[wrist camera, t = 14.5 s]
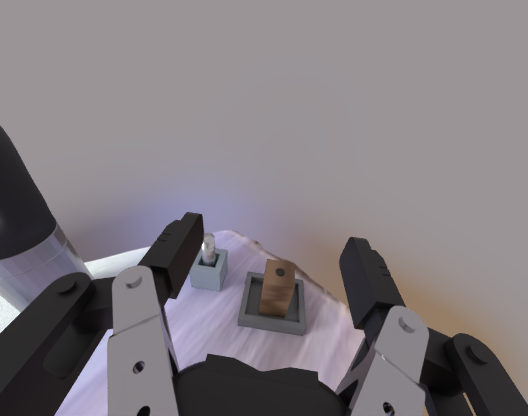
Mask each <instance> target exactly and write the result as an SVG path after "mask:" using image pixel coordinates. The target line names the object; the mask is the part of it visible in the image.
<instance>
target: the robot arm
mask: <svg viewBox="0 0 528 416" xmlns="http://www.w3.org/2000/svg"><path fill="white" fill-rule="evenodd" d="M203 241H204V228H203V217H202V214H198V213H190V212H187V213H186V214H185V215H184V217H183V218H182V219H181V221H180V220H175V221H173V222H172V223H171V224H169V225H168V226H167V227H166V228H165V229H164V231H163V232H162V234H161V235H160V236H159V237H158V238H157V241H155V242H154V244H153V245H152V246H151V248H150V249H149V250H148V252H147V253H146V254H145V256H144V257H143V258H142V260H141V261H140V262H139V264H138V265H137V266H133V267H130V268H128V269H126V270H124V271H122V272H121V273H120V274H119V275H118V276H117V277H110V278H103V279H95V280H94V278H93V277H92V275H91V274H90V272H89V270H88V269H87V267H86V266H85V264H84V263H83V261H82V260H81V258H80V257H79V255H78V254H77V252H76V250H75V249H74V247H73V246H72V244H71V243H70V241H69V240H68V238H67V237H66V235H65V234H64V232H63V231H62V229H61V228H60V226H59V224H58V223H57V222H56V220H55V218H54V217H53V215H52V214H51V212H50V210H49V208H48V206H47V204H46V202H45V200H44V198H43V196H42V194H41V193H40V191H39V190H38V188H37V186H36V185H35V183H34V181H33V180H32V178H31V176H30V174H29V173H28V171H27V169H26V167H25V165H24V163H23V161H22V159H21V157H20V156H19V154H18V152H17V150H16V148H15V147H14V145H13V143H12V141H11V140H10V138H9V137H8V135H7V134H6V132H5V131H4V130H3V128H2V127H1V126H0V296H2V297H3V298H4V299H5V300H6V301H8V302H9V303H10V304H11V305H12V306H14V307H15V308H16V309H17V310H18V311H19V312H21V313H20V314H19V315H18V316H17V317H16V318H15V319H14V320H13V321H12V322H11V323H10V324H9V325H8V326H7V327H6V328H5V329H4V330H3V331H2V332H1V333H0V416H54V415H55V413H56V412H57V410H58V409H59V407H60V405H61V404H62V402H63V401H64V399H65V397H66V396H67V394H68V392H69V391H70V389H71V388H72V386H73V384H74V383H75V381H76V380H77V378H78V376H79V375H80V373H81V372H82V370H83V368H84V367H85V365H86V364H87V362H88V360H89V359H90V357H91V356H92V354H93V352H94V351H95V349H96V347H97V346H98V344H99V343H100V341H101V339H102V338H103V336H104V335H105V333H106V331H107V330H108V329H113V335H112V336H110V337H109V339H108V345H107V365H108V416H422V413H423V407H424V403H425V406H426V409H427V412H428V414H429V416H473V414H472V412H471V410H470V408H469V405H468V403H467V401H466V399H465V397H464V395H463V393H466V395H467V397H468V399H469V401H470V403H471V405H472V407H473V409H474V411H475V413H476V415H477V416H528V404H527V403H526V401H525V400H524V398H523V397H522V395H521V394H520V392H519V391H518V389H517V388H516V386H515V385H514V383H513V382H512V380H511V378H510V377H509V375H508V374H507V372H506V371H505V369H504V368H503V366H502V365H501V363H500V361H499V360H498V358H497V357H496V356H495V354H494V353H493V352H492V351H491V350H490V349H489V348H488V347H487V346H486V345H485V344H483V343H482V342H481V341H479V340H478V339H476V338H474V337H472V336H470V335H468V334H463V333H459V334H457V335H455V336H453V337H452V338H451V337H448V336H446V335H444V334H441V333H439V332H437V331H435V330H433V329H430V328H428V327H427V326H426V324H425V323H424V321H423V320H422V319H421V318H420V317H419V316H418V315H417V314H416V313H415V312H413V311H412V310H410V309H408V308H406V306H405V304H404V302H403V299H402V298H401V295H400V293H399V291H398V289H397V287H396V285H395V283H394V280H393V278H392V277H391V275H390V272H389V270H388V269H387V266H386V264H385V261H384V259H383V258H382V257H381V256H380V255H379V254H378V252H377V251H376V250H371V247H370V245H369V243H368V241H367V240H366V239H363V238H356V237H350V238H349V240H348V242H347V244H346V246H345V248H344V250H343V252H342V254H341V256H340V262H339V264H340V270H341V274H342V278H343V282H344V287H345V291H346V295H347V299H348V303H349V308H350V312H351V316H352V320H353V324H354V328H355V329H360V330H364V333H365V337H364V339H363V340H362V342H361V344H360V347H359V349H358V351H357V353H356V355H355V357H354V359H353V361H352V363H351V365H350V367H349V369H348V371H347V373H346V375H345V377H344V378H343V380H342V381H341V382H340V384H339V386H338V387H337V389H336V391H335V392H334V391H333V390H331V389H330V388H329V387H328V386H326V385H325V384H323V383H322V382H320V381H318V372H316V371H310V370H303V369H297V368H291V367H289V368H283V369H277V370H271V371H265V372H262V371H258V370H256V369H255V368H253V367H251V366H249V365H247V364H245V363H243V362H241V361H239V360H237V359H235V358H231V357H225V356H219V355H213V354H207V357H206V361H203V362H199V363H196V364H193V365H191V366H188V367H186V368H185V369H183V370H181V371H179V366H178V362H177V358H176V354H175V351H174V347H173V343H172V339H171V334H170V330H169V325H168V321H167V316H166V312H165V307H164V305H165V303H166V302H167V300H168V298H171V299H176V298H177V296H178V294H179V292H180V290H181V288H182V286H183V284H184V282H185V280H186V278H187V276H188V274H189V272H190V269H191V267H192V265H193V263H194V261H195V259H196V257H197V255H198V253H199V251H200V249H201V247H202V244H203Z"/></svg>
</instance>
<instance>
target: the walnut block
mask: <svg viewBox="0 0 528 416" xmlns="http://www.w3.org/2000/svg"><path fill="white" fill-rule="evenodd" d="M294 289H295V272H294V263H290V262H284V261H277V260H271V259H267V262H266V268H265V274H264V280H263V286H262V292H261V300H260V308H259V314H264V315H270V316H276V317H282V318H285V316H286V313H287V310H288V307H289V304H290V301H291V298H292V295H293V292H294Z"/></svg>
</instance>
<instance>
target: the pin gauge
mask: <svg viewBox="0 0 528 416" xmlns="http://www.w3.org/2000/svg"><path fill="white" fill-rule="evenodd" d="M201 253H202V261H203V266H208V267H214V268H215V267H216V256H215V240H214V235H213V234H211V233H206V234H204V241H203V244H202V247H201Z"/></svg>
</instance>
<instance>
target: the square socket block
mask: <svg viewBox="0 0 528 416" xmlns="http://www.w3.org/2000/svg"><path fill="white" fill-rule="evenodd" d="M215 256H216V267H215V268H214V267H208V266H203V261H202V253H201V249H200V251H199V253H198V255H197V257H196V259H195V261H194V263H193V265H192V267H191V269H190V272H189V274H190V279H191V285H192V287H195V288H202V289H208V290H214V291H221V287H222V284H223V281H224V278H225V274H226V271H227V250H222V249H216V248H215Z"/></svg>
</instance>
